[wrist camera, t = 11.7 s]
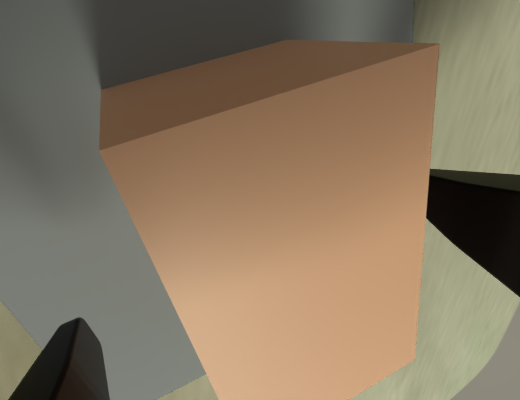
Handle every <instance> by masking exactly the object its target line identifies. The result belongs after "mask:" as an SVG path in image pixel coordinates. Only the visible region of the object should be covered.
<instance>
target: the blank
mask: <svg viewBox="0 0 520 400" xmlns="http://www.w3.org/2000/svg"><path fill="white" fill-rule="evenodd" d="M439 45H440V44H429V43H392V42H354V41H317V40H284V41H280V42H277V43H273V44H269V45H265V46H262V47H258V48H254V49H251V50H247V51H243V52H239V53H236V54H232V55H228V56H225V57H221V58H217V59H213V60H210V61H206V62H202V63H199V64H195V65H191V66H188V67H184V68H180V69H176V70H173V71H169V72H165V73H162V74H158V75H154V76H150V77H147V78H143V79H139V80H136V81H132V82H128V83H124V84H121V85H117V86H113V87H110V88H106V89H102V90H101V106H100V134H99V152H100V154H101V156H102V158H103V160H104V162H105V165H106V167H107V169H108V171H109V173H110V175H111V177H112V179H113V181H114V183H115V185H116V187H117V189H118V191H119V194H120V196H121V198H122V200H123V202H124V204H125V206H126V208H127V210H128V212H129V214H130V216H131V218H132V221H133V223H134V225H135V227H136V229H137V231H138V233H139V235H140V237H141V239H142V241H143V243H144V245H145V247H146V250H147V252H148V254H149V256H150V258H151V260H152V262H153V264H154V266H155V268H156V270H157V272H158V274H159V277H160V279H161V281H162V283H163V285H164V287H165V289H166V291H167V293H168V295H169V297H170V299H171V301H172V303H173V306H174V308H175V310H176V312H177V314H178V316H179V318H180V320H181V322H182V324H183V326H184V328H185V330H186V333H187V335H188V337H189V339H190V341H191V343H192V345H193V347H194V349H195V351H196V353H197V355H198V357H199V359H200V362H201V364H202V366H203V368H204V370H205V372H206V374H207V376H208V378H209V380H210V382H211V384H212V386H213V388H214V391H215V393H216V395H217V397H218V399H219V400H350V399H351V398H353V397H355V396H356V395H358V394H359V393H361V392H363V391H364V390H366V389H368V388H369V387H371V386H373V385H374V384H376V383H377V382H379V381H381V380H382V379H384V378H386V377H387V376H389V375H391V374H392V373H394V372H396V371H397V370H399V369H400V368H402V367H404V366H405V365H407V364H409V363H410V362H412V361H414V360H415V351H416V338H417V325H418V313H419V300H420V287H421V274H422V262H423V249H424V236H425V223H426V211H427V198H428V185H429V172H430V160H431V147H432V134H433V121H434V109H435V96H436V83H437V71H438V58H439Z"/></svg>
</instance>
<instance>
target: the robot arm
mask: <svg viewBox="0 0 520 400" xmlns="http://www.w3.org/2000/svg"><path fill="white" fill-rule="evenodd" d="M426 218H427V219H428V220H429V221H430V222H431V223H432V224H433V225H434V226H435V227H436V228H437V229H438V230H439V231H440V232H441V233H442V234H443V235H444V236H445V237H446V238H447V239H449V240H450V241H451V242H452V243H453V244H454V245H455V246H457V247H458V248H459V249H460V250H461V251H463V252H464V253H465V254H466V255H468V256H469V257H470V258H471V259H473V260H474V261H475V262H476V263H478V264H479V265H480V266H481V267H483V268H484V269H485V270H486V271H488V272H489V273H490V274H491V275H493V276H494V277H495V278H496V279H498V280H499V281H500V282H501V283H503V284H504V285H505V286H506V287H508V288H509V289H510V290H511V291H513V292H514V293H515V294H516V295H518V296H519V297H520V175H514V174H499V173H484V172H469V171H455V170H440V169H430V172H429V185H428V198H427V211H426ZM8 400H110V396H109V390H108V383H107V377H106V370H105V364H104V357H103V351H102V346H101V344H100V341H99V340H98V338H97V337H96V335H95V334H94V332H93V331H92V329H91V328H90V327H89V325H88V324H87V322H86V321H85V320H84V319H83V318H81V317H77V318H75V319H73V320H70V321H68V322H66V323H63V324H62V325H60V326H59V327H58V329H57V330H56V331H55V333H54V334H53V336H52V337H51V339H50V340H49V342H48V343H47V344H46V346H45V347H44V349H43V350H42V352H41V353H40V355H39V356H38V357H37V359H36V360H35V362H34V363H33V365H32V366H31V368H30V369H29V370H28V372H27V373H26V375H25V376H24V378H23V379H22V381H21V382H20V383H19V385H18V386H17V388H16V389H15V391H14V392H13V394H12V395H11V396H10V398H9V399H8Z"/></svg>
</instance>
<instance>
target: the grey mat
mask: <svg viewBox="0 0 520 400" xmlns="http://www.w3.org/2000/svg"><path fill="white" fill-rule="evenodd" d="M414 1H415V0H0V301H1V302H2V303H3V304H4V305H5V306H6V308H7V309H8V310H9V311H10V312H11V313H12V315H13V316H14V317H15V318H16V319H17V320H18V322H19V323H20V324H21V325H22V326H23V327H24V329H25V330H26V331H27V332H28V333H29V334H30V336H31V337H32V338H33V339H34V340H35V341H36V343H37V344H38V345H39V346H40V347H41V348H42V350H43V349H44V347H45V346H46V344H47V343H48V342H49V340H50V339H51V337H52V336H53V334H54V333H55V331H56V330H57V329H58V327H59V326H60V325H62V324H63V323H66V322H68V321H70V320H73V319H75V318H77V317H81V318H83V319H84V320H85V321H86V322H87V324H88V325H89V327H90V328H91V329H92V331H93V332H94V334H95V335H96V337H97V338H98V340H99V341H100V344H101V346H102V351H103V357H104V364H105V370H106V377H107V383H108V390H109V396H110V400H157V399H159V398H161V397H163V396H165V395H166V394H168V393H170V392H172V391H174V390H176V389H178V388H180V387H182V386H184V385H186V384H188V383H190V382H192V381H194V380H196V379H198V378H199V377H201V376H203V375H205V374H206V372H205V370H204V368H203V366H202V364H201V362H200V359H199V357H198V355H197V353H196V351H195V349H194V347H193V345H192V343H191V341H190V339H189V337H188V335H187V333H186V330H185V328H184V326H183V324H182V322H181V320H180V318H179V316H178V314H177V312H176V310H175V308H174V306H173V303H172V301H171V299H170V297H169V295H168V293H167V291H166V289H165V287H164V285H163V283H162V281H161V279H160V277H159V274H158V272H157V270H156V268H155V266H154V264H153V262H152V260H151V258H150V256H149V254H148V252H147V250H146V247H145V245H144V243H143V241H142V239H141V237H140V235H139V233H138V231H137V229H136V227H135V225H134V223H133V221H132V218H131V216H130V214H129V212H128V210H127V208H126V206H125V204H124V202H123V200H122V198H121V196H120V194H119V191H118V189H117V187H116V185H115V183H114V181H113V179H112V177H111V175H110V173H109V171H108V169H107V167H106V165H105V162H104V160H103V158H102V156H101V154H100V152H99V134H100V106H101V90H102V89H106V88H110V87H113V86H117V85H121V84H124V83H128V82H132V81H136V80H139V79H143V78H147V77H150V76H154V75H158V74H162V73H165V72H169V71H173V70H176V69H180V68H184V67H188V66H191V65H195V64H199V63H202V62H206V61H210V60H213V59H217V58H221V57H225V56H228V55H232V54H236V53H239V52H243V51H247V50H251V49H254V48H258V47H262V46H265V45H269V44H273V43H277V42H280V41H284V40H317V41H354V42H392V43H413V24H414Z"/></svg>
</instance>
